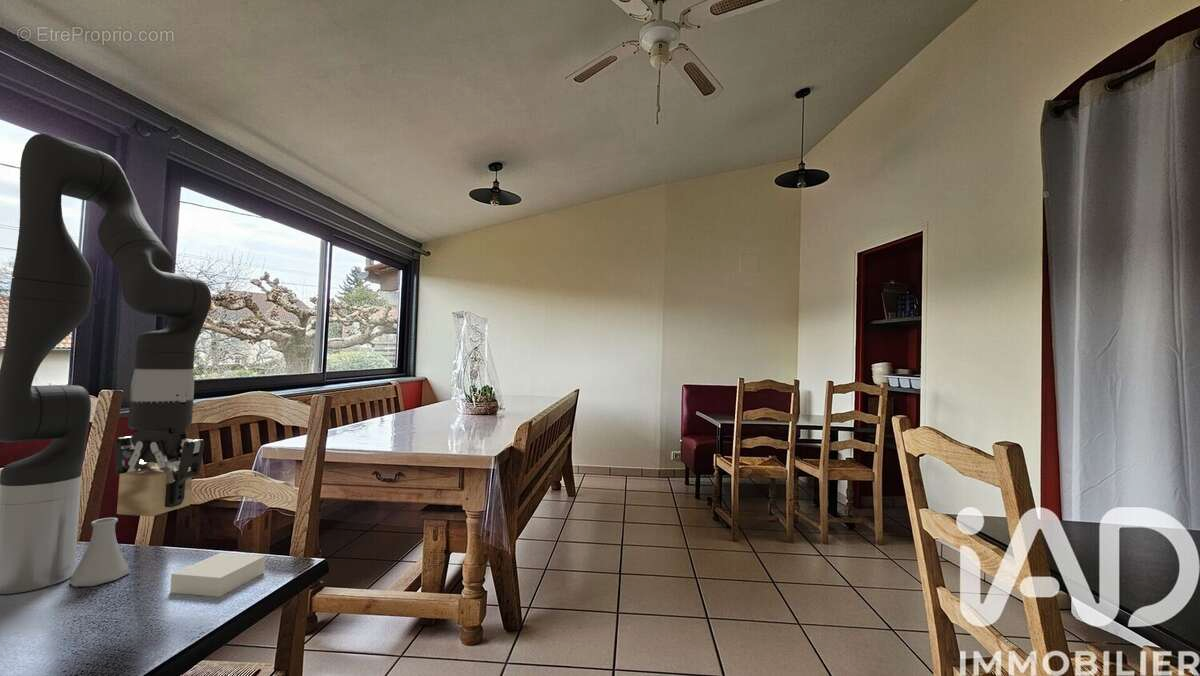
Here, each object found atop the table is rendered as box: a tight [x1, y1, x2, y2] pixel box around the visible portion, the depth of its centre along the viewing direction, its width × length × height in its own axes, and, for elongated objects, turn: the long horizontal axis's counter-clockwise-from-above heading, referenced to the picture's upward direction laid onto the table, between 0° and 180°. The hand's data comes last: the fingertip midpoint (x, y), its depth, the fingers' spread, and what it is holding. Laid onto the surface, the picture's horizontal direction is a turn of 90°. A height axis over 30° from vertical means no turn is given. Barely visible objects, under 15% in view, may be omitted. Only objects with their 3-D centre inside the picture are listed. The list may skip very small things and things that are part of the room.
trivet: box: [169, 552, 266, 598], centre depth 83 cm, size 9×9×3 cm
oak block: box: [116, 465, 193, 518], centre depth 76 cm, size 6×6×6 cm
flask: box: [68, 517, 131, 587], centre depth 84 cm, size 7×7×10 cm
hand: (155, 504), depth 76 cm, fingers closed on oak block, 6 cm apart
